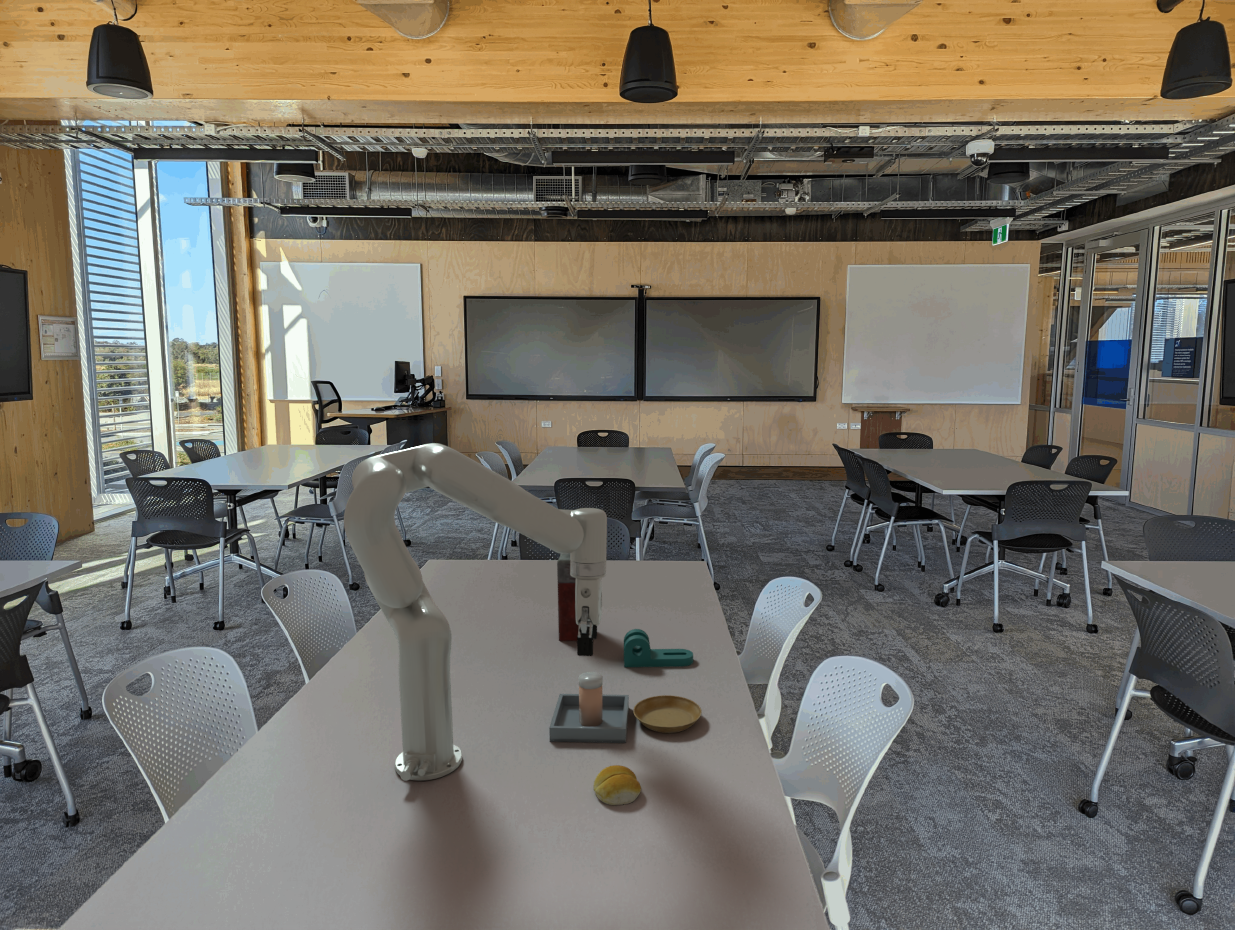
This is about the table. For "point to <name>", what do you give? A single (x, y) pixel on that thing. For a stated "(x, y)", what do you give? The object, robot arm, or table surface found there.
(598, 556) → the robot arm
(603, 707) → the slate tray
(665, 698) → the plant saucer
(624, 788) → the bread roll
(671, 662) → the bracket
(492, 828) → the table surface
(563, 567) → the red gray rectangular canister
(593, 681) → the shaker
